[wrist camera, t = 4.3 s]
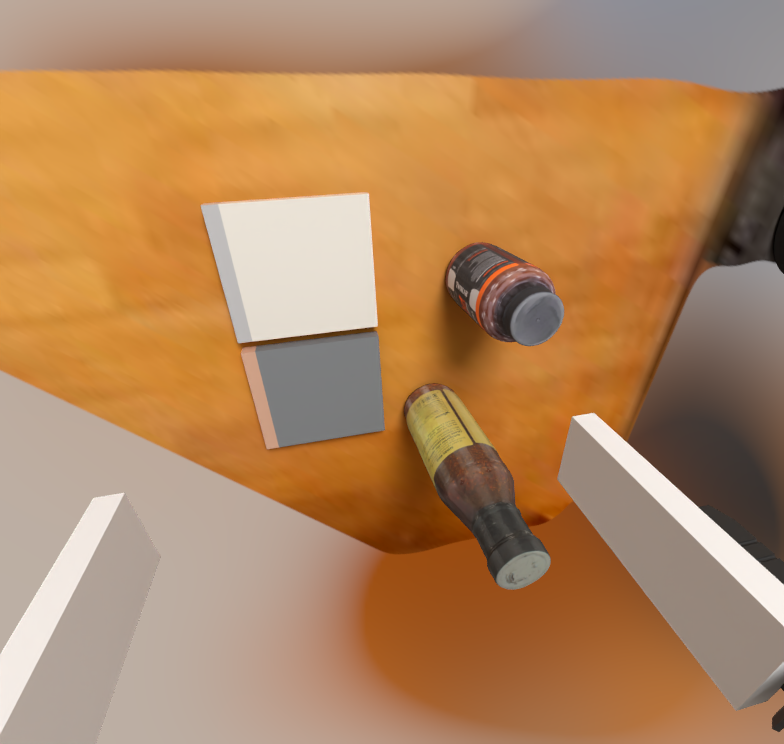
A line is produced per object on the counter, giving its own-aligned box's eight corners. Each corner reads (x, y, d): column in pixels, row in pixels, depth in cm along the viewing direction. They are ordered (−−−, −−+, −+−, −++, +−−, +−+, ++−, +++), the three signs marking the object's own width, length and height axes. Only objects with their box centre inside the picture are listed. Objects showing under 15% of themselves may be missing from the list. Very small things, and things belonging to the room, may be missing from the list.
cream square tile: (366, 192, 31) (368, 193, 30) (375, 321, 36) (377, 326, 35) (204, 203, 29) (200, 205, 28) (240, 337, 34) (238, 343, 33)
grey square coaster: (376, 331, 37) (378, 336, 36) (382, 423, 42) (384, 430, 41) (242, 347, 35) (240, 353, 34) (267, 441, 40) (266, 449, 39)
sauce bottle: (397, 426, 43) (459, 607, 26) (408, 378, 40) (486, 545, 23) (452, 428, 45) (543, 598, 28) (466, 381, 42) (578, 539, 25)
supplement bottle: (431, 289, 36) (479, 341, 26) (466, 228, 34) (532, 260, 24) (481, 314, 38) (542, 370, 28) (516, 258, 36) (595, 299, 26)
